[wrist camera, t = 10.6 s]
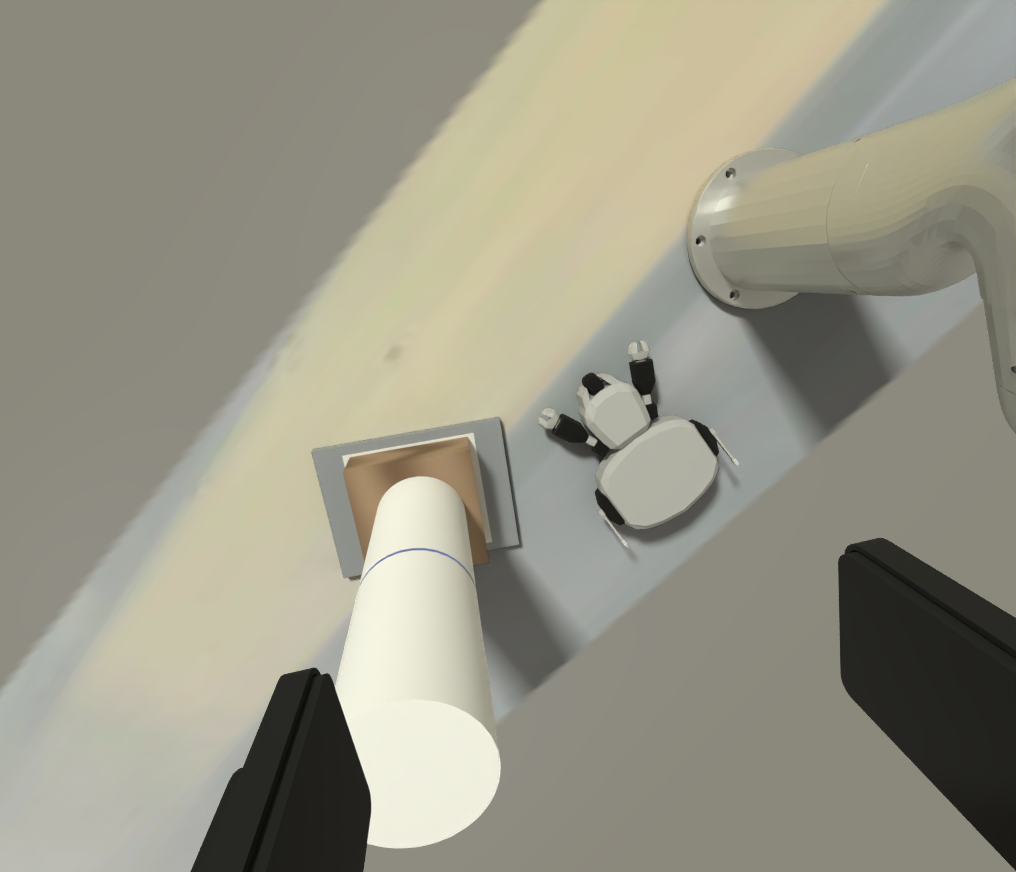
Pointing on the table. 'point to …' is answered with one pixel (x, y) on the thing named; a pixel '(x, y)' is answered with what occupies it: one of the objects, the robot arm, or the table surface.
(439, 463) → the plinth
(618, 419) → the robot toy
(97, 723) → the table surface
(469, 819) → the cylindrical container
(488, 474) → the plate
